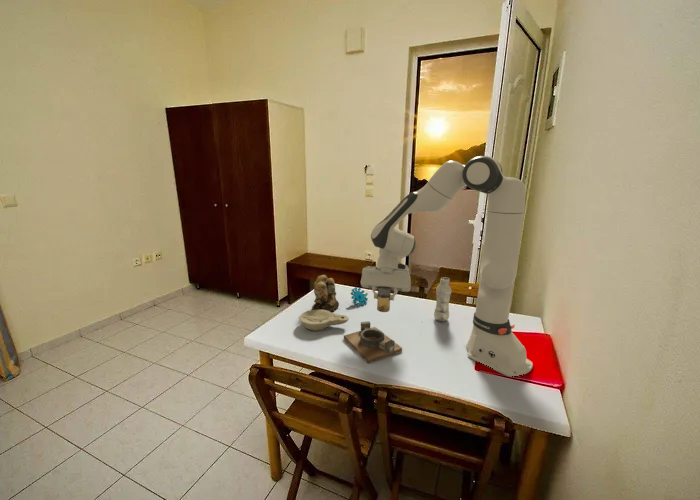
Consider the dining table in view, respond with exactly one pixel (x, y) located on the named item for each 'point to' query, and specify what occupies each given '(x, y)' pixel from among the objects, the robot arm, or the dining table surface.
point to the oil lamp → (321, 319)
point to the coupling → (383, 299)
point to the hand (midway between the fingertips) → (383, 299)
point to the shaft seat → (372, 343)
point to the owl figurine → (325, 294)
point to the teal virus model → (359, 296)
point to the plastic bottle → (442, 300)
